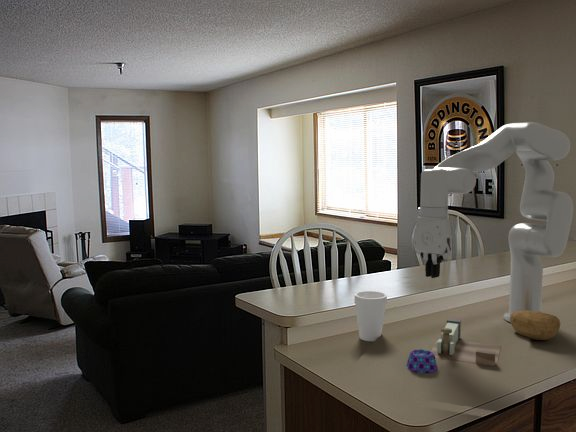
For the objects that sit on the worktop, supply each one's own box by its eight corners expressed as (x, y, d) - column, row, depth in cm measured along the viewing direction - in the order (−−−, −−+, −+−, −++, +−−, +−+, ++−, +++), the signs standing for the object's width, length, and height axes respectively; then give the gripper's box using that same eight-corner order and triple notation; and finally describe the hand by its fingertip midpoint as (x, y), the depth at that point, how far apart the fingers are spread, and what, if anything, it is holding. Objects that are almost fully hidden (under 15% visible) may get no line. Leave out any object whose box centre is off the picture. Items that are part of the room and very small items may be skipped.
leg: (453, 355, 148) (453, 336, 147) (437, 352, 150) (437, 334, 149) (461, 336, 162) (461, 319, 162) (446, 335, 164) (447, 318, 163)
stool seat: (438, 341, 163) (438, 315, 162) (500, 350, 156) (501, 322, 155) (427, 360, 148) (428, 332, 147) (496, 370, 141) (497, 340, 140)
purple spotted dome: (430, 387, 132) (431, 365, 132) (387, 373, 141) (388, 353, 140) (455, 372, 141) (456, 352, 140) (413, 360, 149) (414, 341, 149)
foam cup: (385, 344, 161) (386, 299, 160) (353, 342, 163) (353, 298, 162) (386, 333, 170) (387, 291, 169) (355, 331, 172) (356, 290, 171)
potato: (517, 329, 173) (518, 304, 172) (565, 340, 163) (566, 313, 162) (502, 336, 167) (503, 310, 166) (551, 348, 156) (552, 320, 156)
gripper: (403, 211, 163) (402, 274, 165) (449, 216, 151) (447, 283, 153) (420, 209, 167) (419, 270, 170) (465, 214, 155) (463, 279, 157)
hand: (432, 276), depth 161 cm, fingers closed
